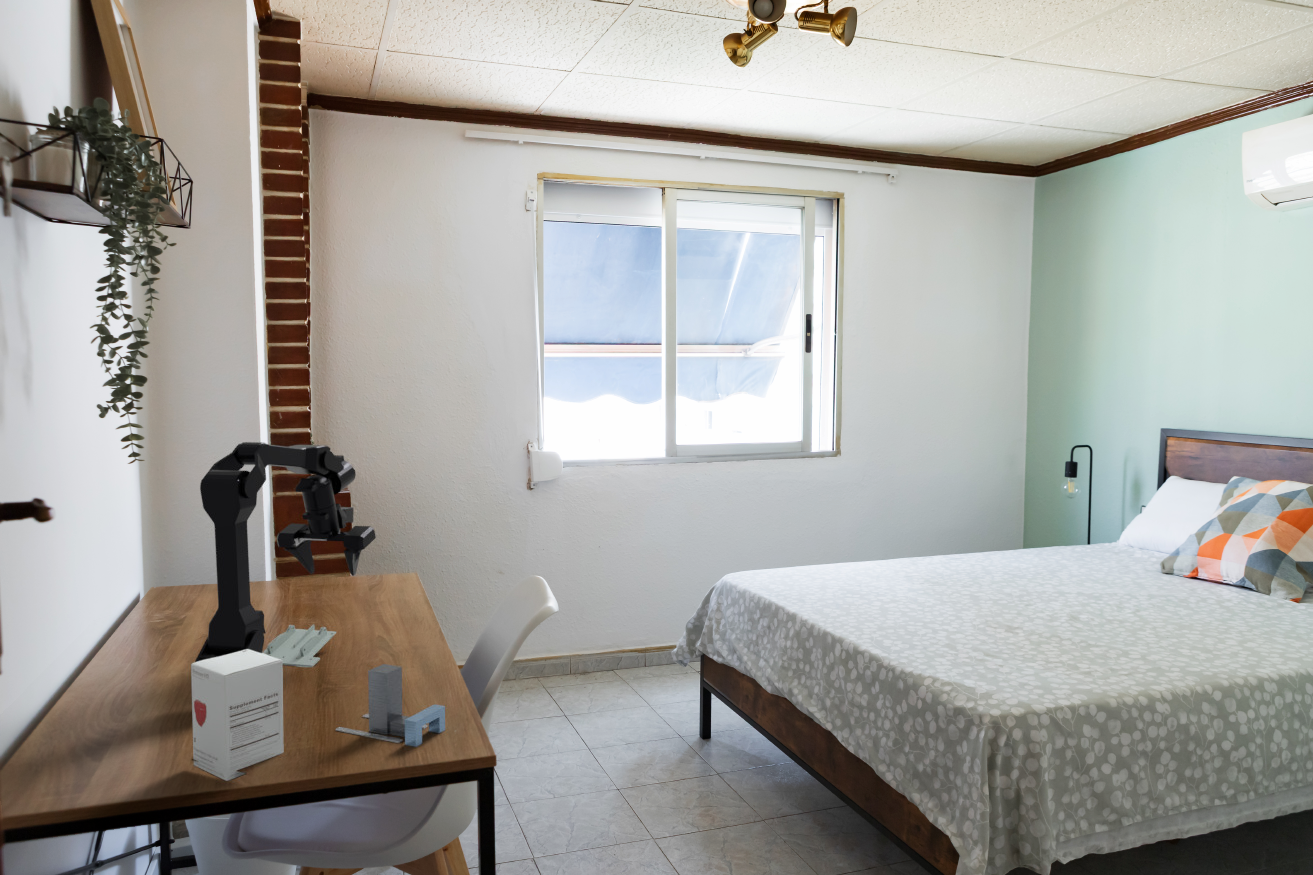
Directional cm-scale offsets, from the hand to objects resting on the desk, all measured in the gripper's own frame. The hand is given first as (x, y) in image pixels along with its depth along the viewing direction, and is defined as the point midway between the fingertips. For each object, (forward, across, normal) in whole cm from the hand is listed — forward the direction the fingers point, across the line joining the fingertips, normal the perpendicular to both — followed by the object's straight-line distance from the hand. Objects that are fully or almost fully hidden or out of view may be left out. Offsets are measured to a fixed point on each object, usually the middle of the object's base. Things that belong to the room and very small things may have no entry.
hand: (333, 573), depth 181 cm
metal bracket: (+14, +5, +10) cm, 18 cm away
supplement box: (-1, -16, +56) cm, 58 cm away
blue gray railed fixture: (+3, -33, +44) cm, 55 cm away
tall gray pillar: (+2, -34, +44) cm, 56 cm away
